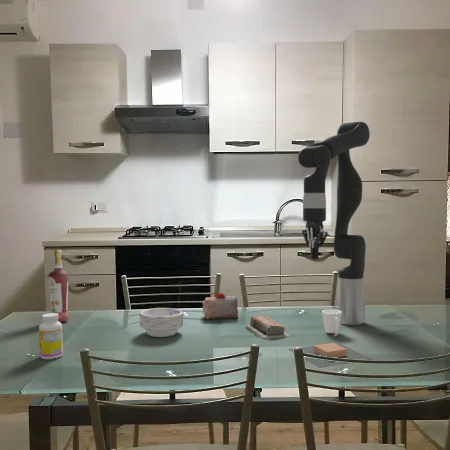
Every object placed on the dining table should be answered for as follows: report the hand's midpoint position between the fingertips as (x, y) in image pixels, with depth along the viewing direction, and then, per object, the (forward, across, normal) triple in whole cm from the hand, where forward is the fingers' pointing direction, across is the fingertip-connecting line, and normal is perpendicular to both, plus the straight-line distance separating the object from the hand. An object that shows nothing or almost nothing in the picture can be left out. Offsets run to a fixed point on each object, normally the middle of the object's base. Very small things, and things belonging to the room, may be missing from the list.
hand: (314, 258), depth 165 cm
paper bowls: (+27, +26, +46) cm, 59 cm away
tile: (+25, -14, +5) cm, 29 cm away
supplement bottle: (+27, +14, +83) cm, 88 cm away
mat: (+27, -17, +5) cm, 32 cm away
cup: (+27, +1, -8) cm, 28 cm away
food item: (+27, +41, +19) cm, 52 cm away
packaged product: (+28, +14, +11) cm, 33 cm away
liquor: (+27, +58, +79) cm, 102 cm away
